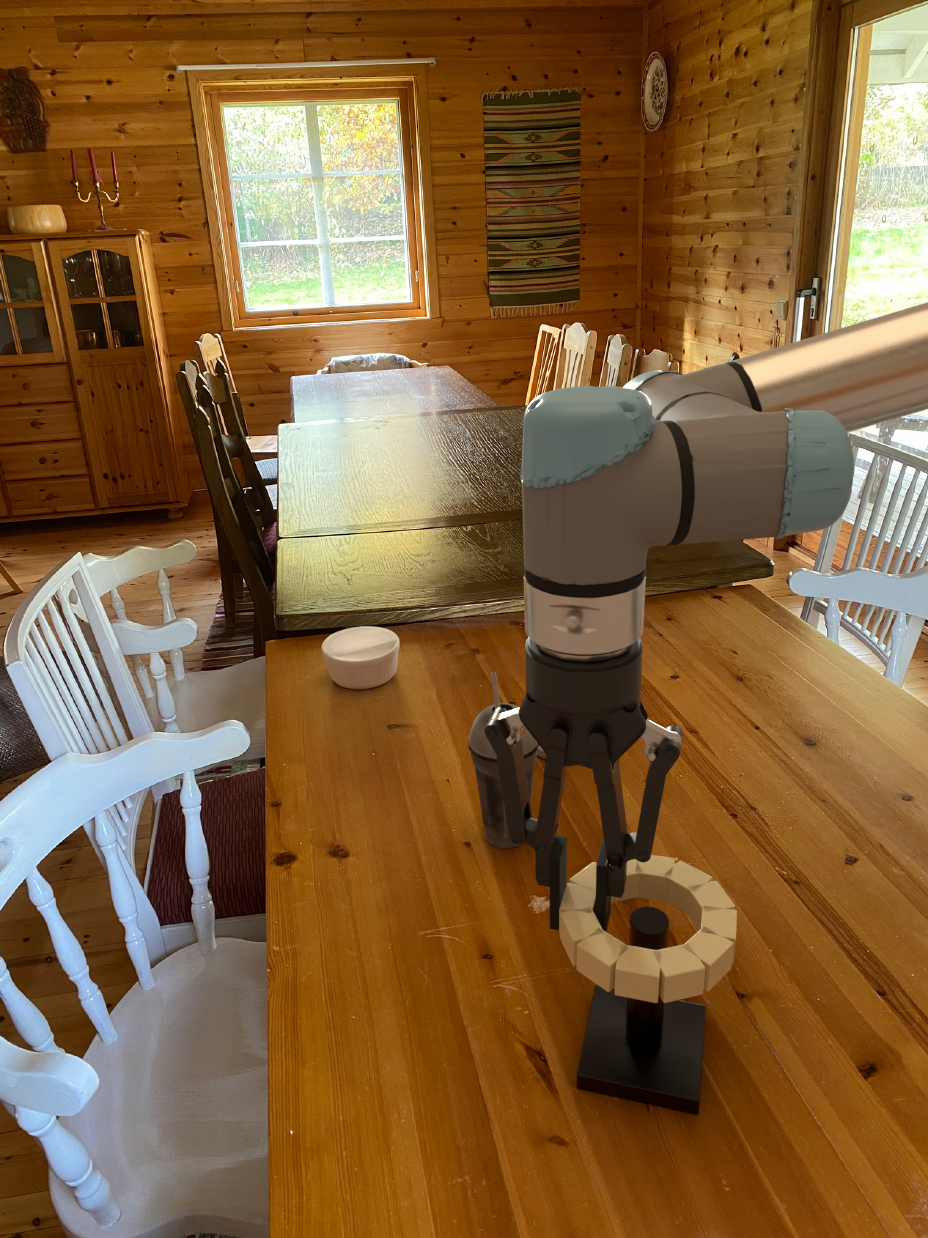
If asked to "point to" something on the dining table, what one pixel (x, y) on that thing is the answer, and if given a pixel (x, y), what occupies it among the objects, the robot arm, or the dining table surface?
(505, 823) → the beverage cup
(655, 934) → the stand
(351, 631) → the ramekin
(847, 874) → the dining table surface
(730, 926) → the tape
